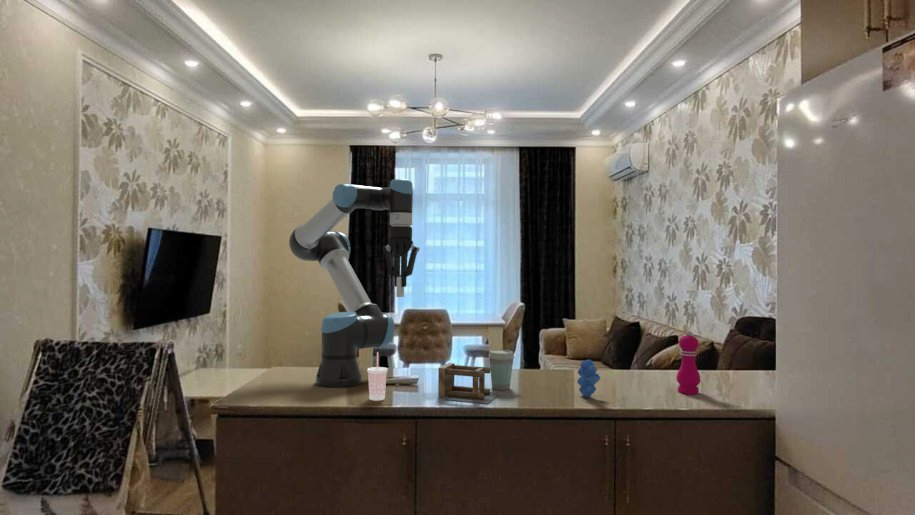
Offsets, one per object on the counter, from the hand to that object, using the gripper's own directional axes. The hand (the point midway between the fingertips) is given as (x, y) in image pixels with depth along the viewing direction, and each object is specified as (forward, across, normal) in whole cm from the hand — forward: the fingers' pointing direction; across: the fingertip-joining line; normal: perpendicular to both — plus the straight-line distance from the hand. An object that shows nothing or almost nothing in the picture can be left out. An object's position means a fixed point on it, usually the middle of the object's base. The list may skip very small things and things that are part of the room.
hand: (400, 296), depth 197 cm
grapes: (+30, +62, +6) cm, 69 cm away
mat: (+29, +28, -7) cm, 41 cm away
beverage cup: (+30, +2, -20) cm, 36 cm away
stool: (+25, +18, -7) cm, 32 cm away
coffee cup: (+30, +33, +8) cm, 45 cm away
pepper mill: (+30, +91, +25) cm, 99 cm away
